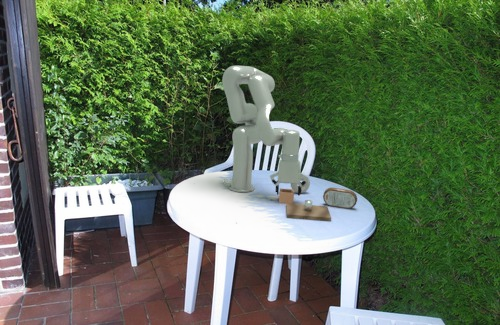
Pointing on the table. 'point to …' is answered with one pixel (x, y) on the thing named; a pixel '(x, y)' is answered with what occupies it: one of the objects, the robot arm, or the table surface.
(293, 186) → the donut
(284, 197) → the hollow square tube
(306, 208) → the domed metal cylinder
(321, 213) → the board
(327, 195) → the tin
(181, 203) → the table surface
